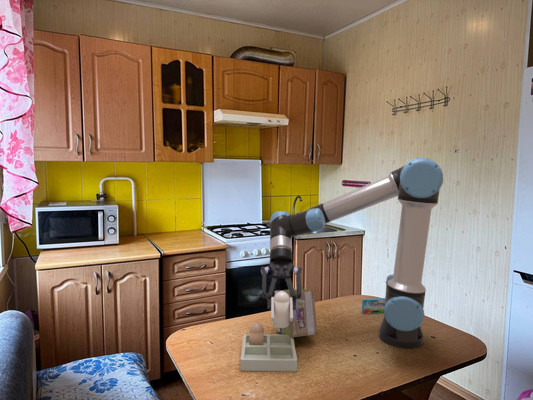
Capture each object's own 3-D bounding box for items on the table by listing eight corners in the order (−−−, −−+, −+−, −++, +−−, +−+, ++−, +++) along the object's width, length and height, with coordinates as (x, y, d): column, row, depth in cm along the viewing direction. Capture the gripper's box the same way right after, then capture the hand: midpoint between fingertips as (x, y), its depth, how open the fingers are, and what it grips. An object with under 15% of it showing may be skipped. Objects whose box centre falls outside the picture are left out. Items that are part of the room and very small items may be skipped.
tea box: (301, 328, 142) (318, 335, 128) (276, 331, 139) (291, 338, 125) (298, 287, 144) (314, 290, 130) (273, 290, 141) (288, 292, 127)
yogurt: (388, 311, 159) (389, 297, 159) (390, 313, 158) (390, 299, 157) (361, 313, 158) (362, 298, 157) (363, 314, 156) (363, 300, 155)
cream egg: (288, 321, 118) (289, 289, 117) (289, 328, 113) (290, 294, 112) (272, 320, 118) (273, 288, 117) (273, 327, 113) (274, 294, 112)
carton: (292, 344, 129) (293, 318, 128) (296, 371, 112) (297, 341, 111) (243, 343, 129) (243, 317, 128) (240, 370, 112) (240, 340, 111)
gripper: (306, 258, 129) (310, 324, 114) (254, 257, 129) (252, 323, 114) (308, 247, 123) (313, 315, 109) (254, 245, 123) (251, 314, 108)
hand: (281, 319), depth 111 cm, fingers closed on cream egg, 5 cm apart
